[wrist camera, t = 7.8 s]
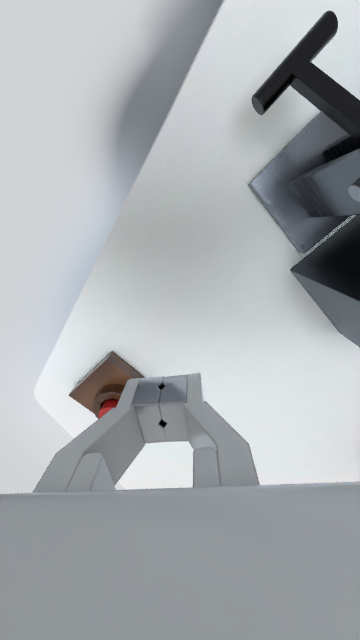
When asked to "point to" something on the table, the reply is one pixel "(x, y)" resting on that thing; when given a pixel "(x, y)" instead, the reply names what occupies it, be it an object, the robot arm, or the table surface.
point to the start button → (108, 406)
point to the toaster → (336, 279)
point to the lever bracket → (312, 182)
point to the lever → (312, 80)
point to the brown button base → (104, 383)
